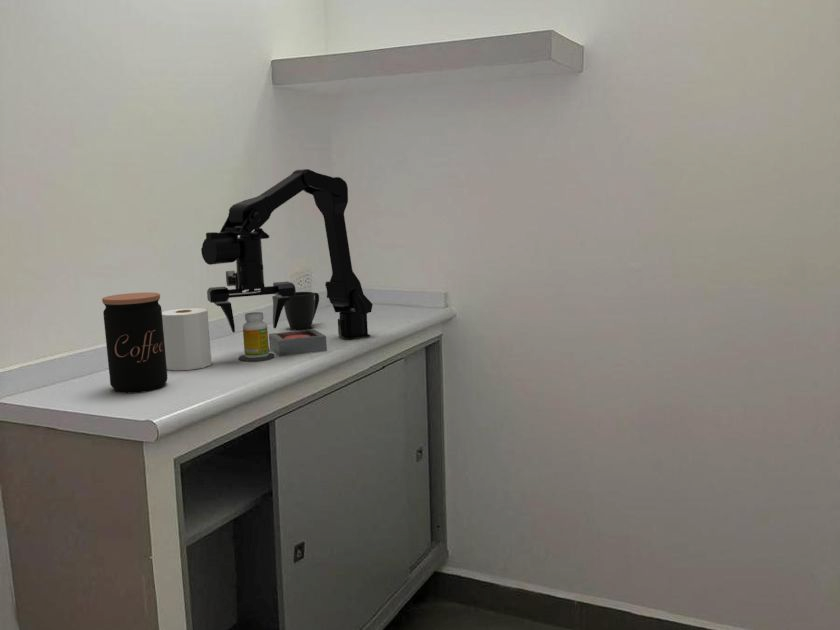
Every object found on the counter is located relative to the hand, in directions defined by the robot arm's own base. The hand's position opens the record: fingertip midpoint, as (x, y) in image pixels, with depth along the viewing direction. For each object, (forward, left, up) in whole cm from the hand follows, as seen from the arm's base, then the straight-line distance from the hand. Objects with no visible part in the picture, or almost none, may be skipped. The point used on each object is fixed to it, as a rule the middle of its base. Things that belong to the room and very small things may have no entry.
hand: (254, 330), depth 186 cm
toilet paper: (+15, 0, -7) cm, 16 cm away
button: (-11, -5, -6) cm, 13 cm away
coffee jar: (+26, +16, -7) cm, 31 cm away
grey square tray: (-11, -5, -6) cm, 13 cm away
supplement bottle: (0, 0, -6) cm, 6 cm away
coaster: (0, 0, -6) cm, 6 cm away
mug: (-20, -35, -7) cm, 41 cm away
